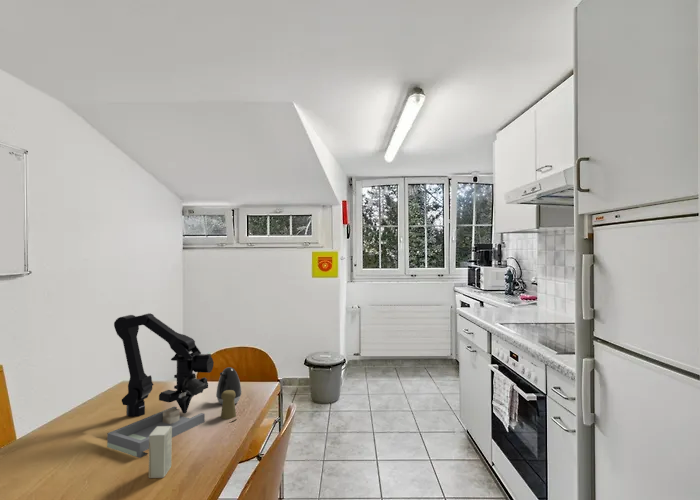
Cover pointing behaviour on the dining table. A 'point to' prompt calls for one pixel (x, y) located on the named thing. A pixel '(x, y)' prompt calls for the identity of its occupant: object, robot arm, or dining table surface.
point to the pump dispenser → (228, 384)
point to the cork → (228, 405)
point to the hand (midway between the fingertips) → (184, 412)
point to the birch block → (171, 415)
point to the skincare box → (160, 451)
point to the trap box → (147, 433)
